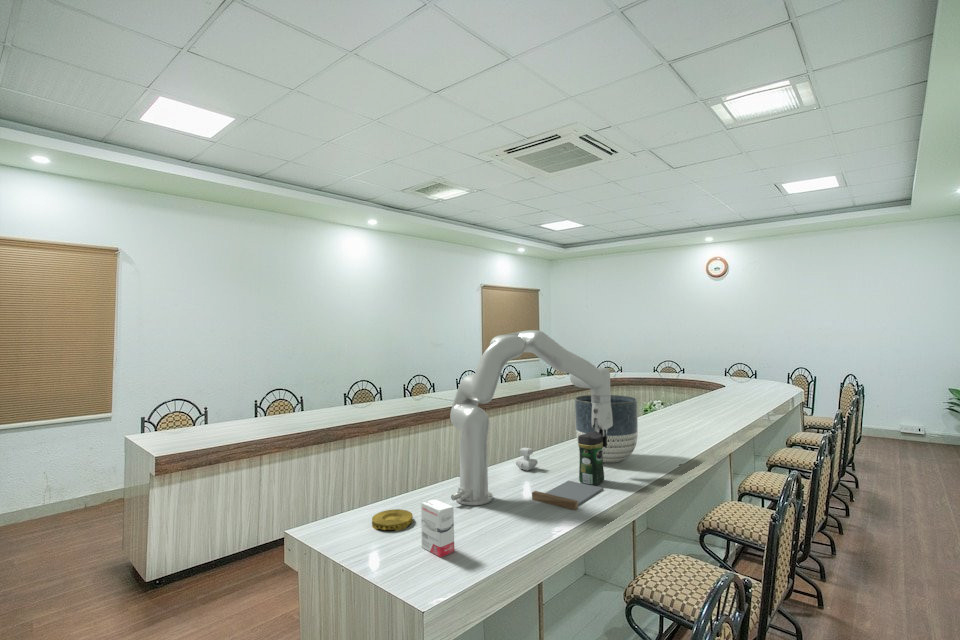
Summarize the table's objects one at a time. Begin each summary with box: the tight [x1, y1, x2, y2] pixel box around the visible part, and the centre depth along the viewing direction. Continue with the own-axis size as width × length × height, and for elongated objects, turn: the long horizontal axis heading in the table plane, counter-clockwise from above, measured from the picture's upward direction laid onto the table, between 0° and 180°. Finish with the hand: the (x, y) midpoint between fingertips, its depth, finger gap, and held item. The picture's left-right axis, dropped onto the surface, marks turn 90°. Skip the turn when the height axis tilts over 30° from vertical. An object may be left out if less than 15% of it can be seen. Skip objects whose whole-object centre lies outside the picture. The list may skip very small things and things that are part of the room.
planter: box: [574, 394, 639, 463], centre depth 204 cm, size 27×27×27 cm
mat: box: [545, 480, 604, 506], centre depth 162 cm, size 21×14×1 cm, turn 141°
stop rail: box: [531, 490, 579, 511], centre depth 153 cm, size 2×16×2 cm, turn 51°
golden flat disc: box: [371, 508, 414, 532], centre depth 139 cm, size 12×12×2 cm
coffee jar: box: [577, 432, 605, 486], centre depth 174 cm, size 10×8×19 cm
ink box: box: [420, 498, 455, 558], centre depth 122 cm, size 8×5×12 cm, turn 43°
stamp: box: [515, 447, 538, 472], centre depth 192 cm, size 9×7×8 cm
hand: (602, 446), depth 182 cm, fingers closed
